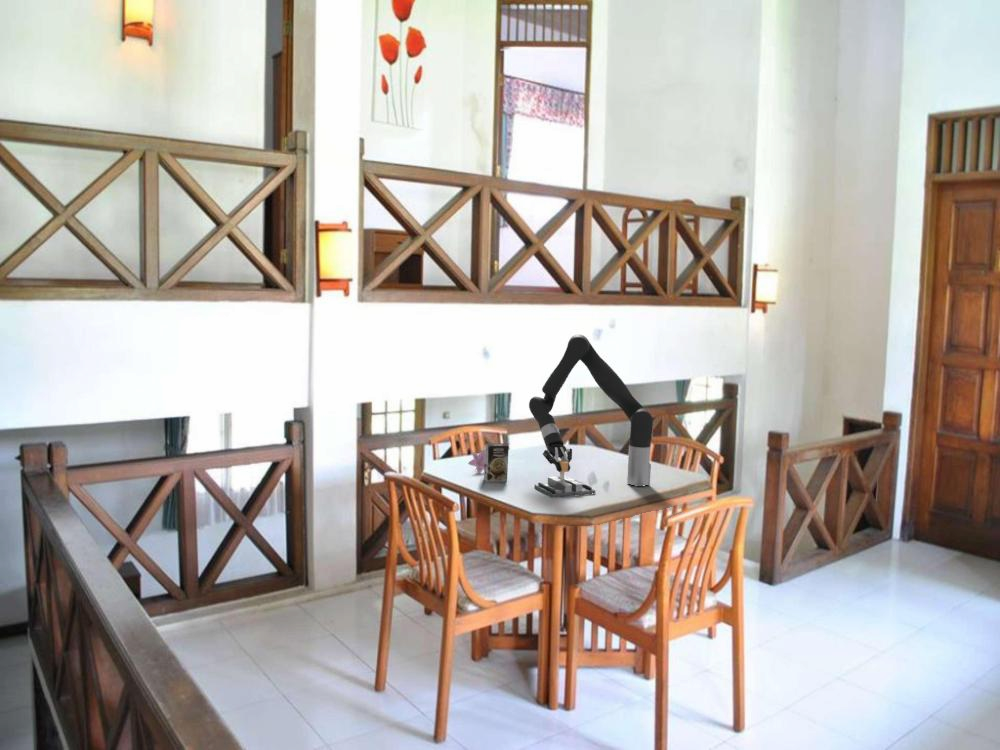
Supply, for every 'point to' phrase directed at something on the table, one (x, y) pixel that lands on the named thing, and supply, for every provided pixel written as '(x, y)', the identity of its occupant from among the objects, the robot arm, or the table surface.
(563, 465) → the lever
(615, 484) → the table surface
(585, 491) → the breaker panel
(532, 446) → the table surface
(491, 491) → the table surface
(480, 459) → the lily
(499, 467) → the coffee box
